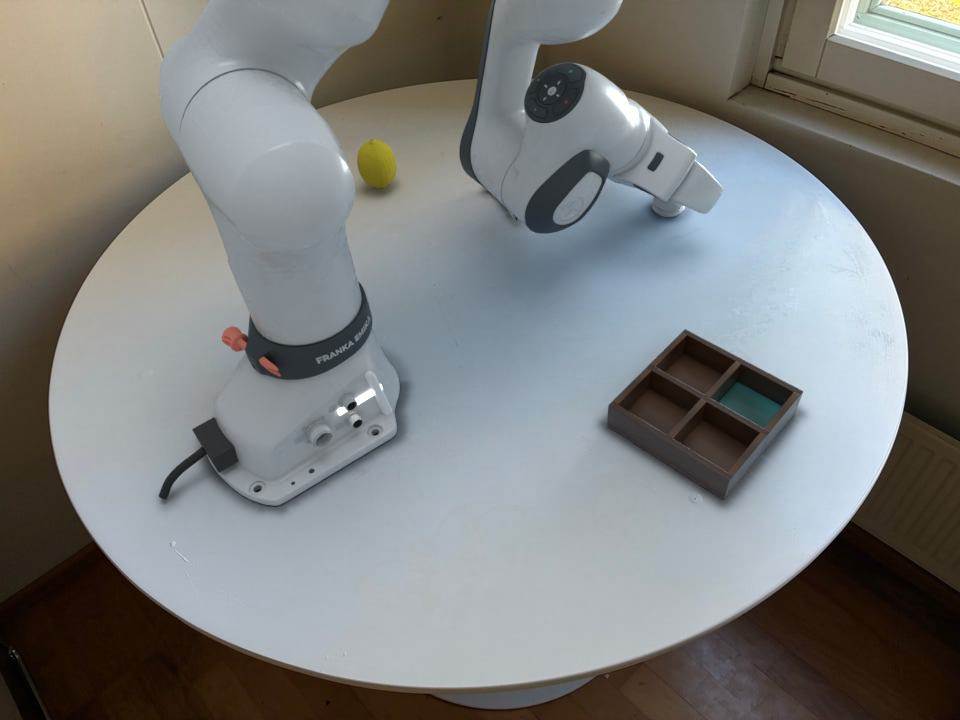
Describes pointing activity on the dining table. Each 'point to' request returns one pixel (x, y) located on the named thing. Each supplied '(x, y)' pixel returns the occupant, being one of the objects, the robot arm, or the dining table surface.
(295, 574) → the dining table surface
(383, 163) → the lemon
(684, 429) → the grid
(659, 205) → the rook chess piece
